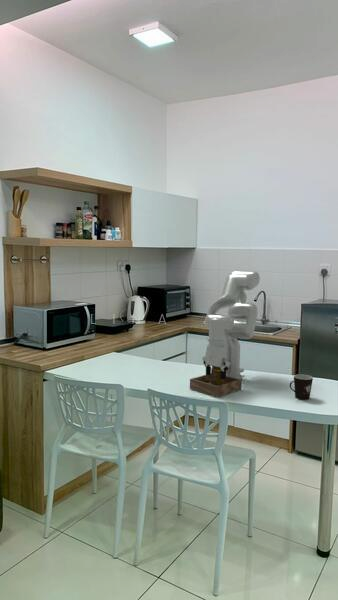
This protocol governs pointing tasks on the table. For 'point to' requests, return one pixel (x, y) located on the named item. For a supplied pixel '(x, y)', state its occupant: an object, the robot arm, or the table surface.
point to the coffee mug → (302, 386)
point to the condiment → (216, 376)
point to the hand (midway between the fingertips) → (215, 376)
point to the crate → (206, 387)
